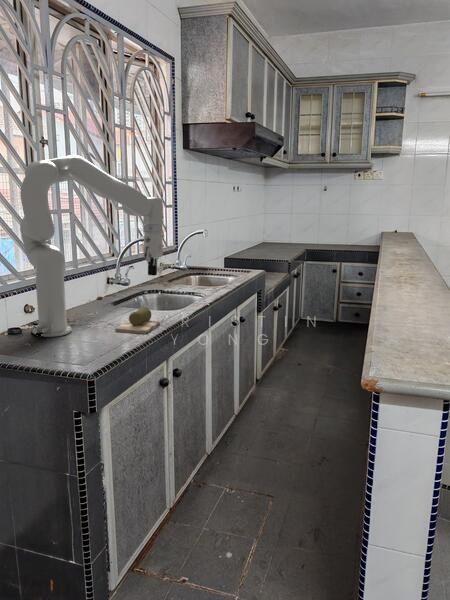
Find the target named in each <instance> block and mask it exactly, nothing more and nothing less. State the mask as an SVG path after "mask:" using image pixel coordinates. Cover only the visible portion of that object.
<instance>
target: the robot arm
mask: <svg viewBox="0 0 450 600" xmlns="http://www.w3.org/2000/svg"><path fill="white" fill-rule="evenodd" d="M24 176H25V177H24V178H23V180H22V182H21V186H20V201H21V207H22V211H23V216H24V217H22V219H21V220H20V224H19V230H20V235H21V239H22V244H23V247H24V250H25V254H26V257H27V260H28V262H29V263H30V265H31V266H33V267H34V268H35V270H36V272H35V274H36V275H35V289H36V301H37V302H36V303H37V305H36V306H37V315H38V317H37V319H38V323H37V327H34V328H32V331H31V332H32V334H34V335H36V333H39V332H42V333H43V334H41V336H40V337H42V336H43V337H45V338H52V337H53V338H54V337H61V336H65V335H68V334H70V333H72V327H71V326H70V325H67V323H68V322H67V321H68V320H67V305H66V292H65V290H66V289H65V269H66V268H65V267H66V260H65V255H64V253H63V252H62V250H61V249H60V248H59V247H57V246H54V245H52V241H51V239H52V238H53V237H54V235H55V233H56V231H55V229H56V228H55V224H54V221H53V217H52V213H51V208H50V204H49V198H48V195H49V190H50V189H51V186H53V185H54V184H58V183H63V182H69V181H74V182H75V183H77V184H78V185H81V186H82V187H83V188H86V190H89V191H90V192H91V193H93V194H95V195H96V196H98V197H100V198H103V199H106V200H109V201H113V202H116V203H118V204H119V205H121V209H122V211H123V212H124V213H125V214H126V215H128V216H134V217H143V218H142V219H143V221H142V223H143V225H142V231H143V233H144V234H143V235H144V236H143V246H142V247H143V250H142V252H143V257H144V258H145V261H146V262H147V275H148V276H154V277H155V276H156V275H158V260H159V258H161V257H163V256H164V249H163V248H164V246H163V245H164V244H163V235H162V233H163V218H164V217H163V214H164V211H163V209H164V208H163V207H164V206H163V203H164V201H163V199H162V198H161V197H154V196H146V195H145V194H143V193H142V192H140V191H138V190H137V189H136V188H134V187H132V186H130V185H129V184H127V183H124V182H123V181H121V180H119V179H117V178H115V177H113V176H112V175H110V174H108V173H107V172H105V171H104V170H103V169H100V168H99V167H98V166H96V165H94V164H93V163H92V162H90V161H88V160H87V159H86V158H84V157H83V156H80V155H77V154H72V155H71V154H70V155H65V156H60V157H56V158H52V159H51V158H50V159H44V160H43V159H42V160H38V161H32V162H30V163H29V164H28V165H27V166H26V168H25V169H24ZM43 337H42V338H43Z"/></svg>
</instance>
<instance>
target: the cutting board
mask: <svg viewBox="0 0 450 600" xmlns="http://www.w3.org/2000/svg"><path fill="white" fill-rule="evenodd" d="M159 324H160V325H161V322H160V320H149V321H145V322H142V323H141V324H139V325H137V326H136V325H132V324H131V323H130V322H129V320H128V321H126V322H124V323H122V324H120V325H119V326H117V327H115V332H117V333H129V334H140V335H147V334H148V333H150V332H151V331H153V330H154V329H155V328H156V326H157V325H158V326H160V325H159ZM158 326H157V327H158ZM153 328H154V329H153ZM152 329H153V330H152ZM150 330H151V331H150ZM149 331H150V332H149ZM147 332H148V333H147ZM146 333H147V334H146Z"/></svg>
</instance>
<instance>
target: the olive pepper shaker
mask: <svg viewBox="0 0 450 600" xmlns="http://www.w3.org/2000/svg"><path fill="white" fill-rule="evenodd" d="M151 319H152V311H151V309H150V308H148V307H146V306H143V307H139V308H138V309H137V310H136V311H132V312H131V313H130V314H129V316H128V321H129V322H130V323H131V324H132V325H136V326H137V325H139V324H141V323H142V322H145V321H151Z"/></svg>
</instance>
